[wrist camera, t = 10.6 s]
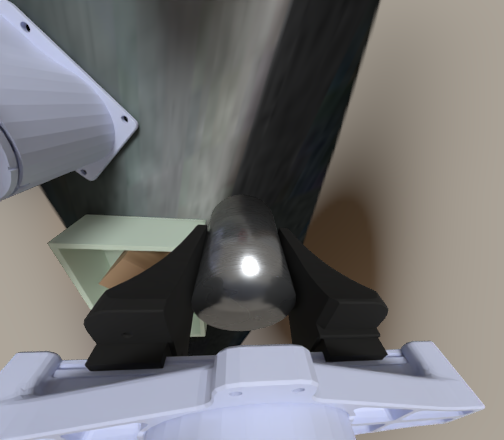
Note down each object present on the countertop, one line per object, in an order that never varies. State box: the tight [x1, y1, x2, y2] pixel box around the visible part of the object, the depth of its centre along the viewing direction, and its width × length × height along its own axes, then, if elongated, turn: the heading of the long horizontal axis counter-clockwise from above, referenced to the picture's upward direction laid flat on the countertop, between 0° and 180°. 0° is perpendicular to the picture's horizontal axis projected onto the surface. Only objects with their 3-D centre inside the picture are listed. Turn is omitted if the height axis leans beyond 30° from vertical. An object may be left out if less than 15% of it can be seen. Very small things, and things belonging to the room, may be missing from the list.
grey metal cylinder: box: [191, 195, 296, 331], centre depth 12 cm, size 5×5×7 cm
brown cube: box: [99, 250, 170, 289], centre depth 21 cm, size 5×5×5 cm
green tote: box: [47, 214, 207, 337], centre depth 24 cm, size 17×13×5 cm
